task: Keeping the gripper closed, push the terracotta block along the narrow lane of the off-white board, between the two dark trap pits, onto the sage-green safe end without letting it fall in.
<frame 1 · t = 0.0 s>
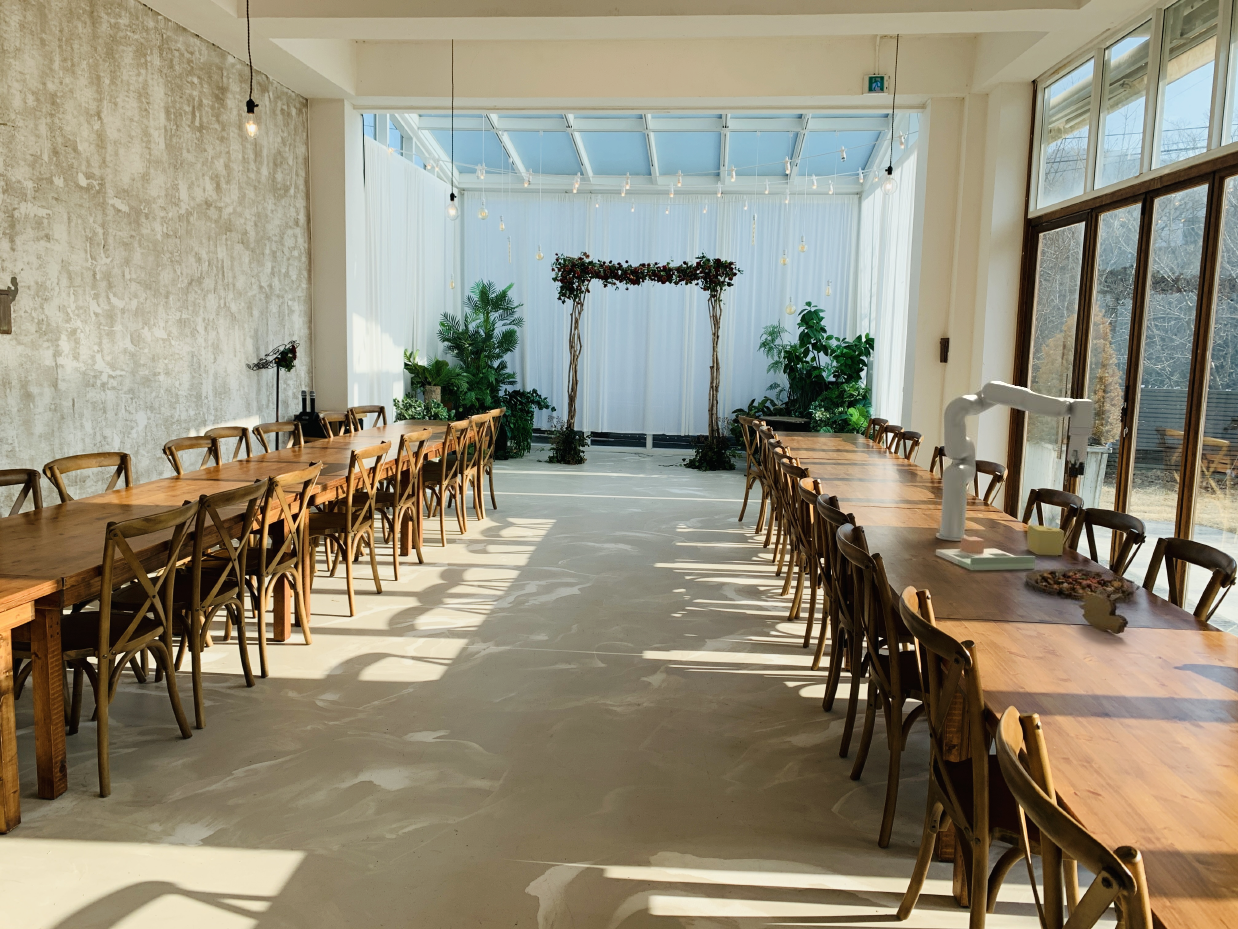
hand: (1076, 476, 338), 31 cm above the table, tool pointing down, fingers open, 9 cm apart
food dish: (1078, 591, 292), on the table
block: (971, 551, 336), point 2 cm above the table, touching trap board
wooden carving: (1101, 630, 249), on the table
cheese: (1044, 553, 347), on the table
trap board: (982, 560, 330), on the table
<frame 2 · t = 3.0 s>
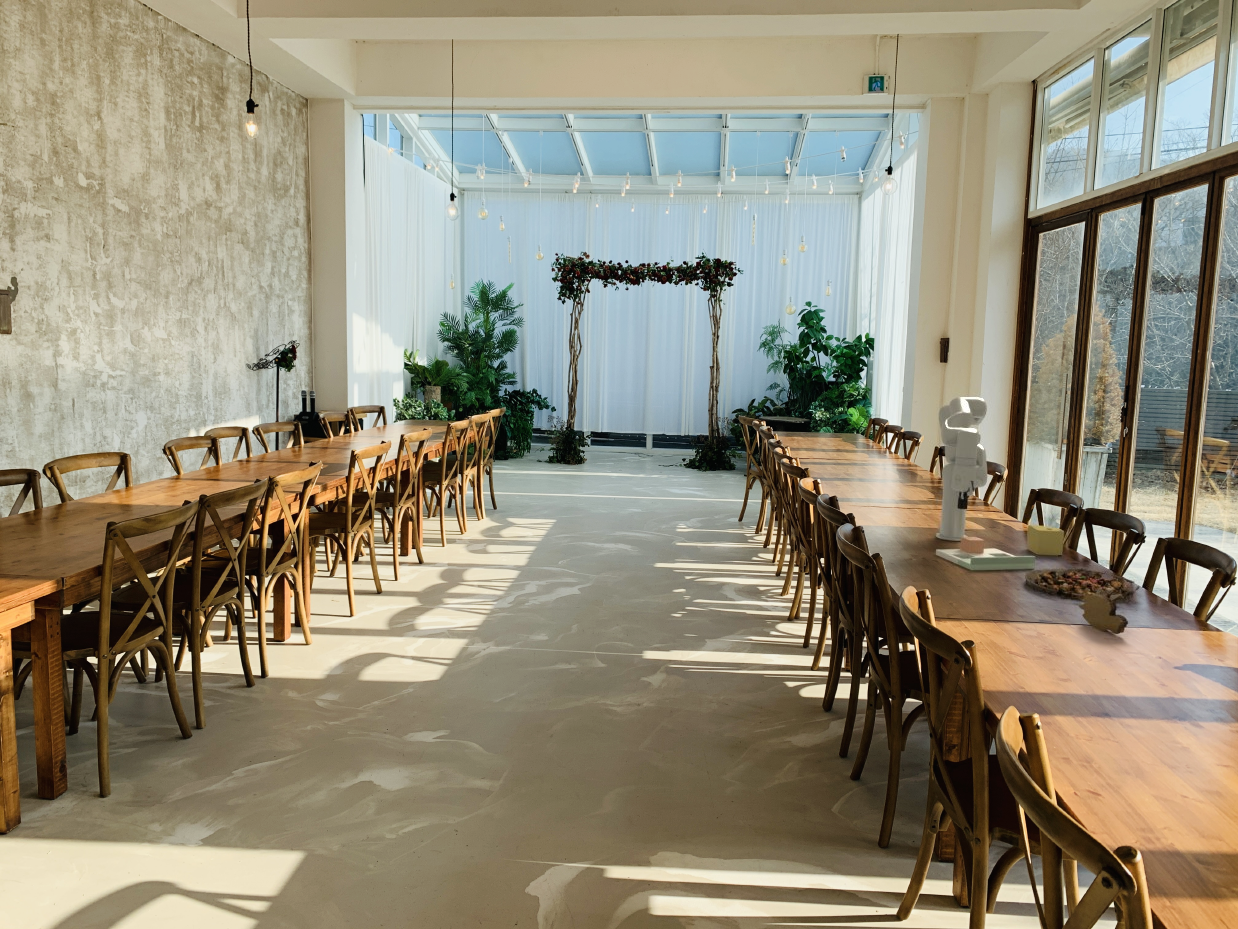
hand: (962, 508, 343), 17 cm above the table, tool pointing down, fingers closed
nothing on the table moved.
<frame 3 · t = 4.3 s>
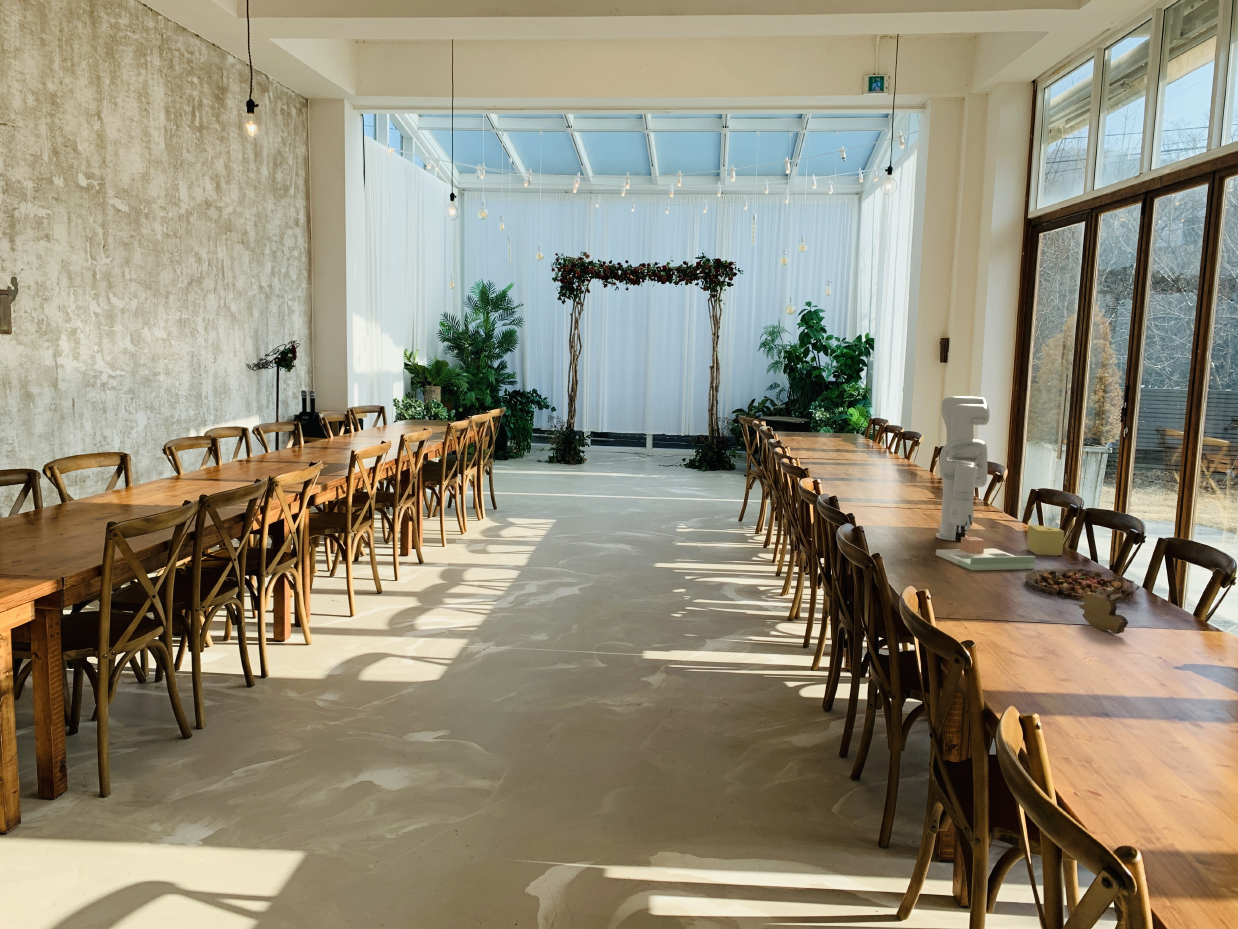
hand: (959, 542, 344), 4 cm above the table, tool pointing down, fingers closed
nothing on the table moved.
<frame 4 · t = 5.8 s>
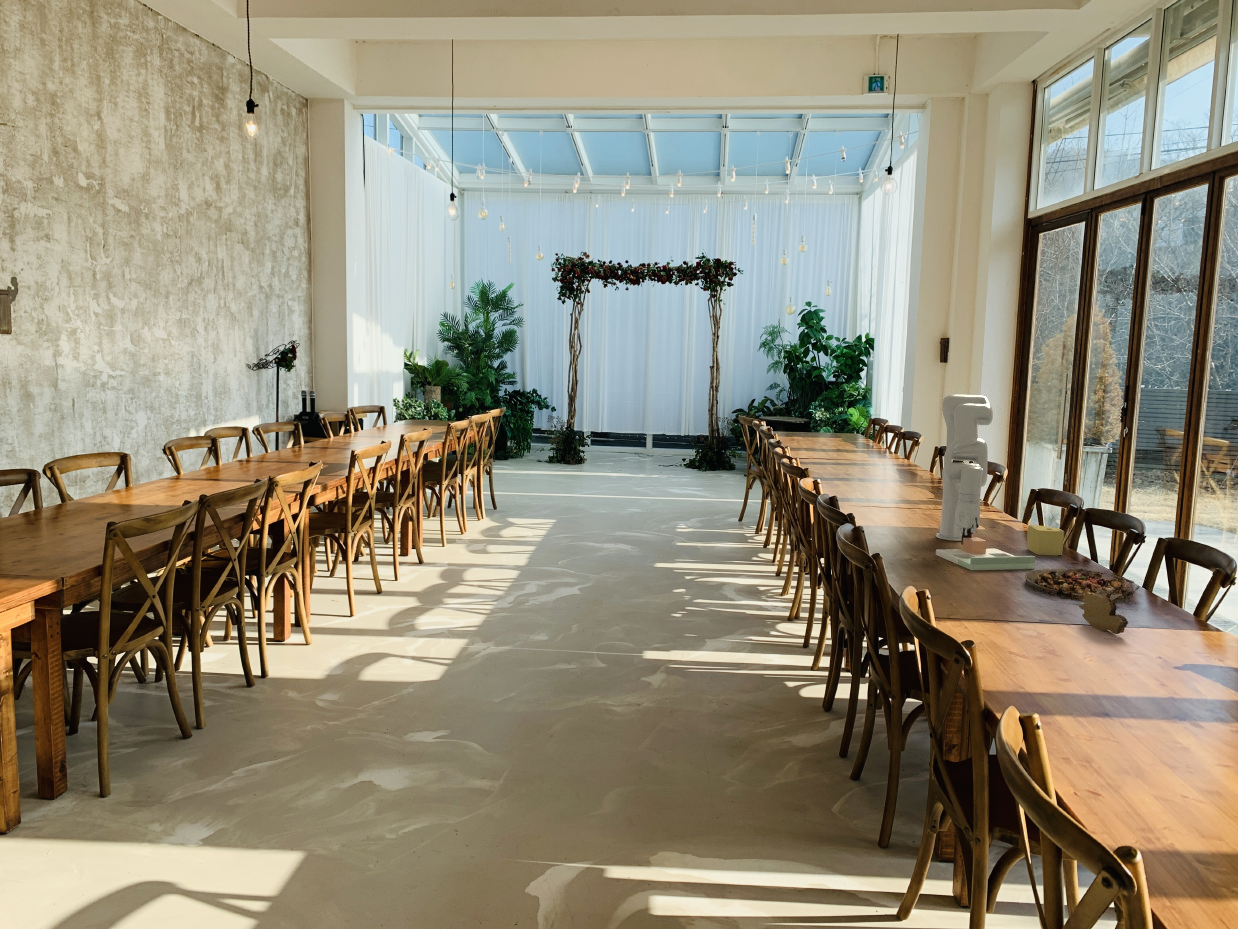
hand: (966, 544, 340), 4 cm above the table, tool pointing down, fingers closed
block: (973, 552, 335), point 2 cm above the table, touching gripper, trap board
everything else where it was.
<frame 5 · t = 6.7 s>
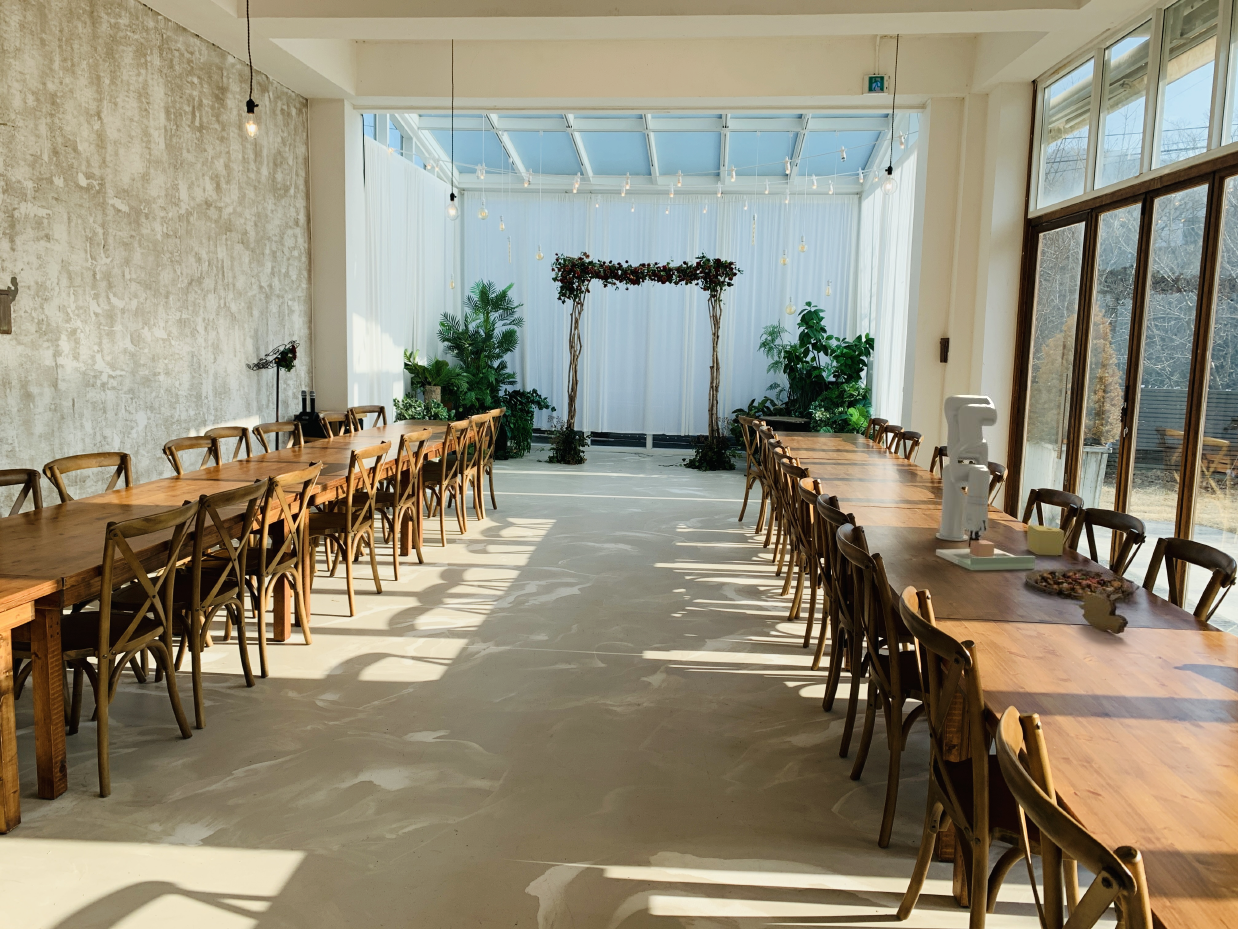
hand: (973, 547, 335), 4 cm above the table, tool pointing down, fingers closed
block: (981, 555, 330), point 2 cm above the table, touching gripper
everything else where it was.
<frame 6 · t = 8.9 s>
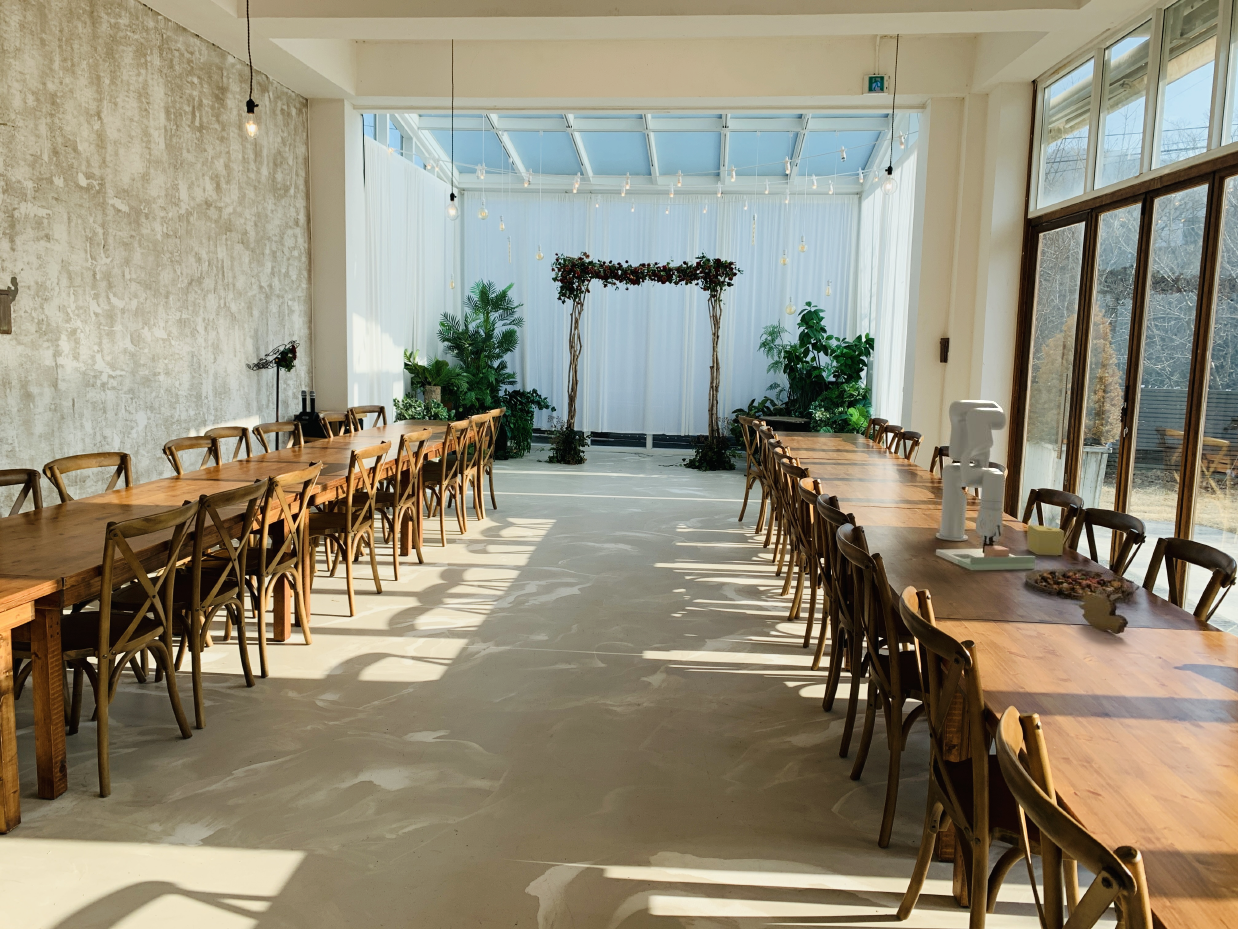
hand: (987, 553, 326), 4 cm above the table, tool pointing down, fingers closed
block: (995, 561, 321), point 2 cm above the table, touching gripper, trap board
everything else where it was.
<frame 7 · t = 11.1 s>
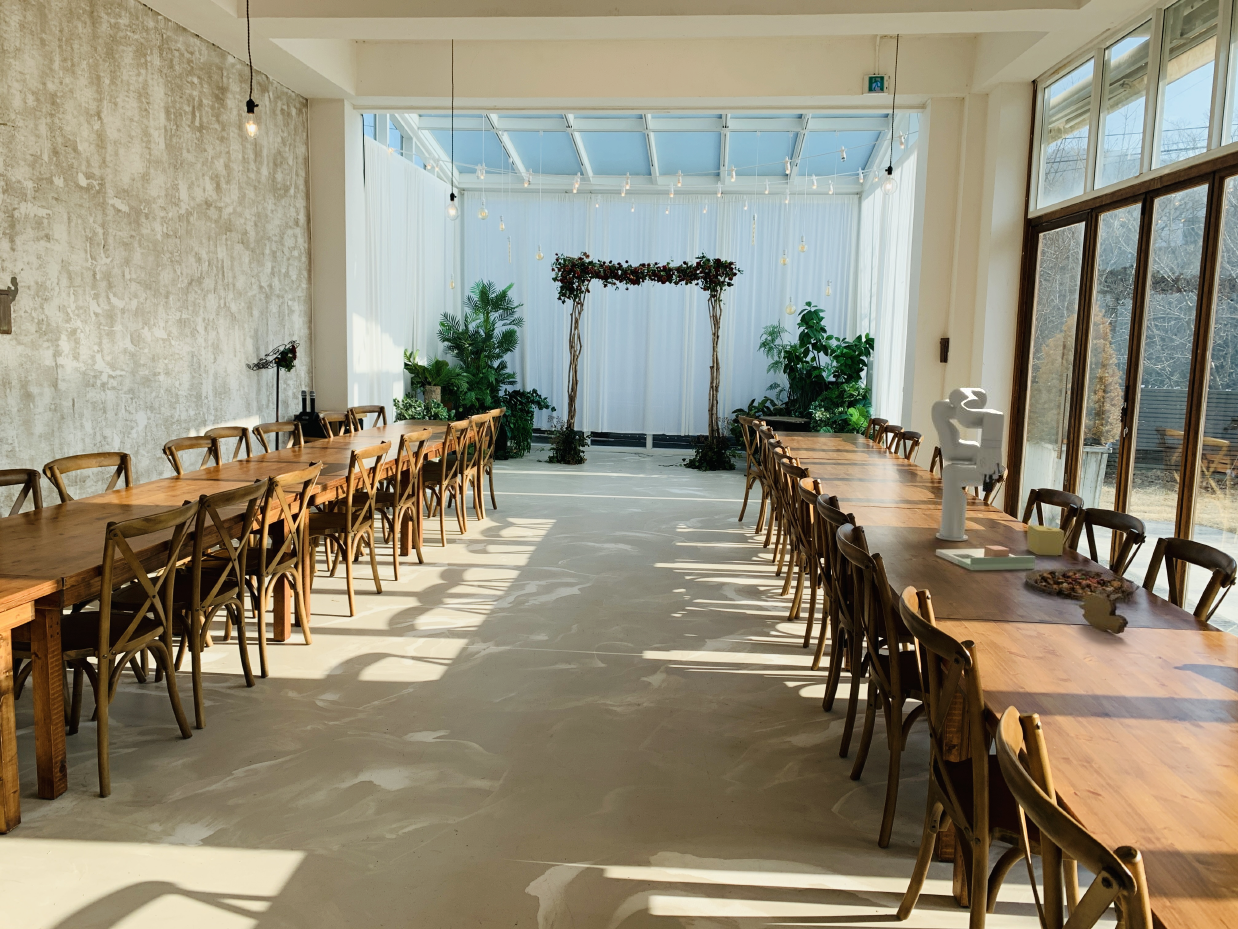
hand: (987, 491, 337), 25 cm above the table, tool pointing down, fingers closed
block: (995, 561, 321), point 2 cm above the table, touching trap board
everything else where it was.
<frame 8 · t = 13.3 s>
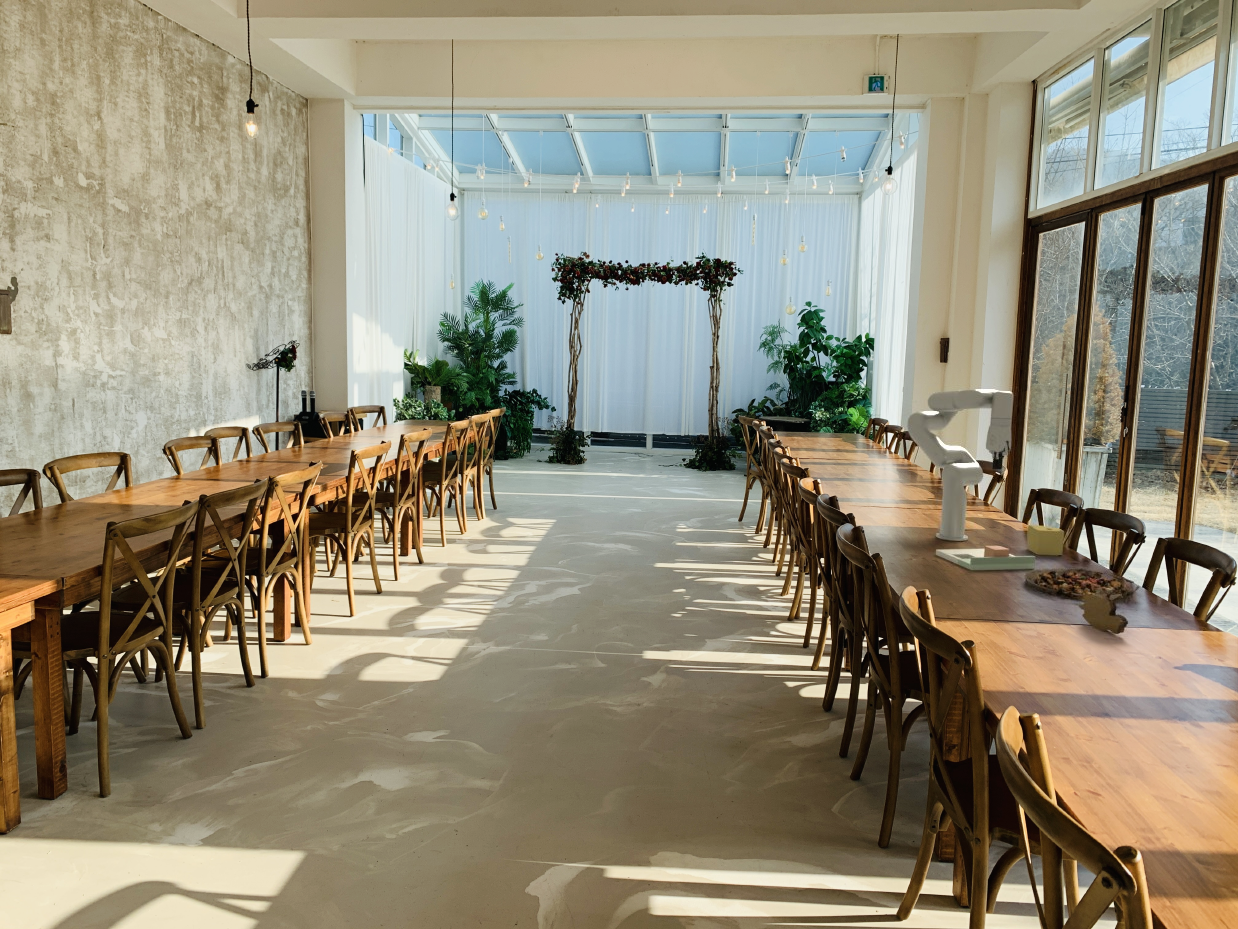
hand: (997, 468, 347), 32 cm above the table, tool pointing down, fingers closed
nothing on the table moved.
at the end: block 0.2 cm from the target spot on the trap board, point 2.0 cm above the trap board's base; block tilted 0° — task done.
